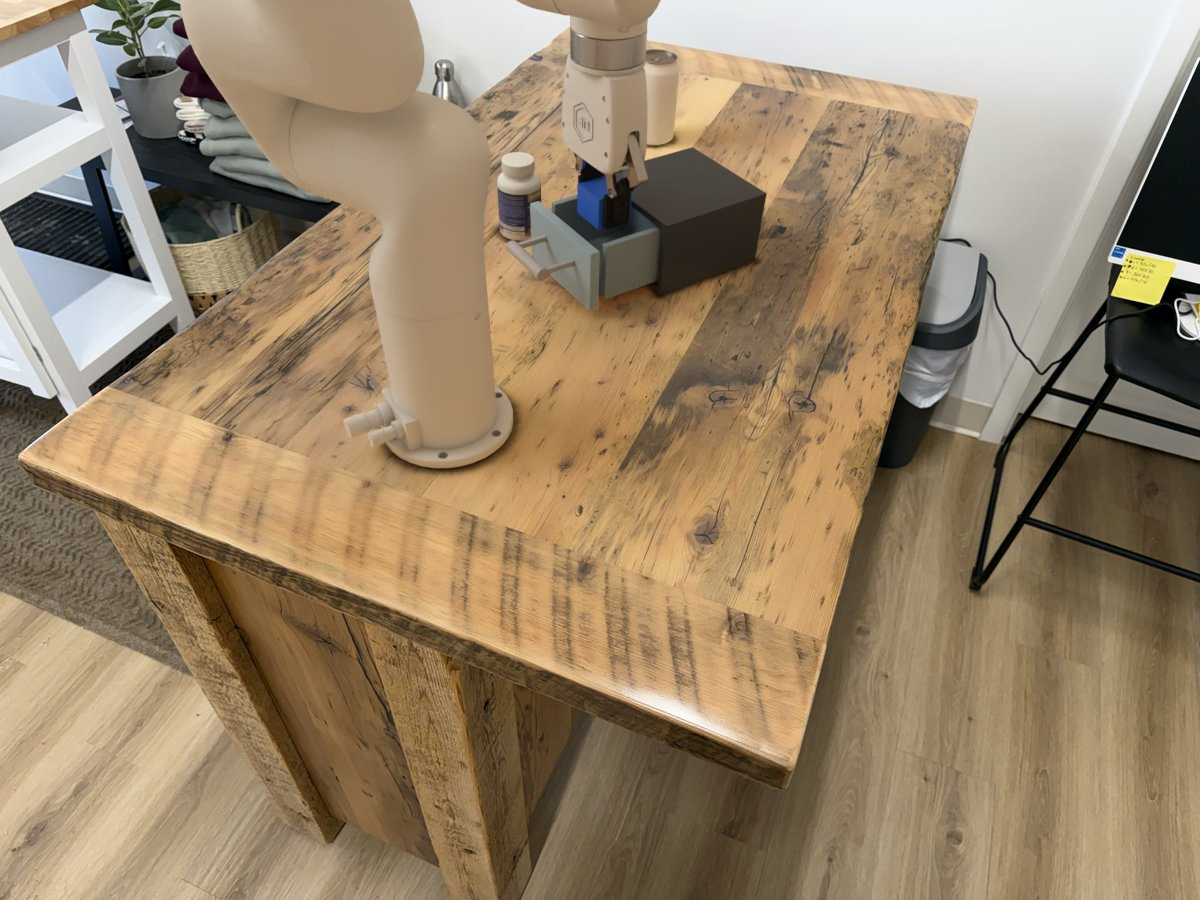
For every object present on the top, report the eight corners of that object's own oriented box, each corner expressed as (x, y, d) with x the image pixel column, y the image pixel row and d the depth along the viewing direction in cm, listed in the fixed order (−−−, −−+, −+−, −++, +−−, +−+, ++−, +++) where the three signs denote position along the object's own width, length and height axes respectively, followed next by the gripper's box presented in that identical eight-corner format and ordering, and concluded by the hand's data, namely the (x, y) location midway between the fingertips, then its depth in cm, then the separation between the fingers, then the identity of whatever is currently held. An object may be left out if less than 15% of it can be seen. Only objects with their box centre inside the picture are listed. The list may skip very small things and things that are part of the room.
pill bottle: (536, 244, 106) (533, 171, 99) (494, 239, 106) (489, 166, 99) (546, 223, 109) (545, 151, 103) (506, 218, 110) (502, 146, 103)
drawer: (552, 325, 92) (551, 267, 87) (495, 270, 100) (491, 214, 94) (685, 277, 100) (691, 221, 94) (623, 229, 107) (626, 175, 102)
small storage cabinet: (660, 296, 98) (666, 226, 92) (594, 241, 106) (595, 174, 100) (754, 261, 104) (766, 193, 98) (685, 212, 112) (692, 146, 106)
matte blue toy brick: (598, 230, 93) (598, 200, 91) (577, 212, 96) (577, 183, 93) (630, 219, 95) (632, 190, 92) (609, 203, 98) (609, 173, 95)
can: (680, 135, 129) (688, 54, 121) (660, 150, 125) (666, 68, 117) (644, 125, 132) (649, 44, 123) (623, 139, 128) (627, 57, 119)
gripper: (531, 27, 86) (536, 192, 99) (625, 83, 76) (617, 259, 89) (593, 15, 89) (590, 177, 102) (691, 68, 79) (674, 239, 92)
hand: (603, 213), depth 95 cm, fingers closed on matte blue toy brick, 4 cm apart
